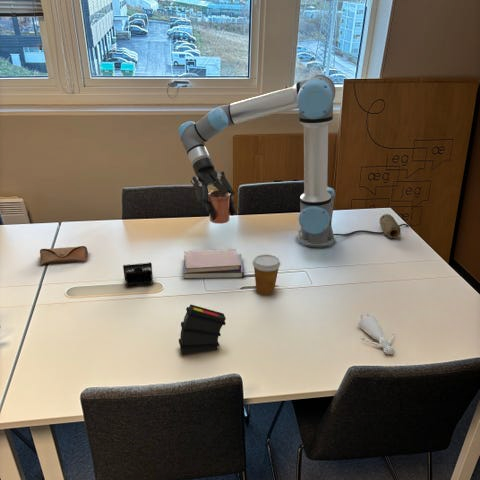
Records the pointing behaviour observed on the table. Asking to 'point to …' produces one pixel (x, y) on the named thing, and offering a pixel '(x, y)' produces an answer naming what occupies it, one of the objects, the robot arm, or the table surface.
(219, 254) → the burgundy book
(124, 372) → the table surface
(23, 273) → the table surface
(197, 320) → the magazine
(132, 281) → the end cap
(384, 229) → the stone weight
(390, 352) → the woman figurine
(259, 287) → the disposable coffee cup
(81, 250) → the sunglasses case
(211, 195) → the terracotta pot
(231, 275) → the navy book
